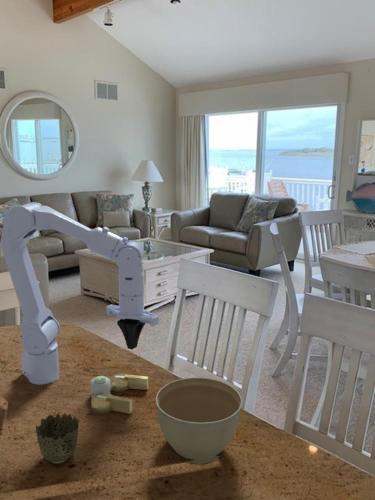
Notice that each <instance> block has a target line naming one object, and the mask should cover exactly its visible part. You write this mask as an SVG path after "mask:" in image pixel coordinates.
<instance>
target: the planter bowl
mask: <svg viewBox="0 0 375 500" xmlns="http://www.w3.org/2000/svg"><path fill="white" fill-rule="evenodd" d="M155 406H156V411H157V418H158V424H159V427H160V429H161V431H162V432H161V433H162V434H163V436H164V437H165V439H166V441H167V443H168V444H169V445H170V446H171V447H172V449H173V450H174V451H175V453H177V454H178V455H180V456H181V457H183V458H186V459H190V460H188V461H187V460H186V461H185V462H186V463H187V464H188V463H189V464H193V465H203V464H209V463H212V462H214V461H216V460H217V459H219V458H220V455H219V454H220V453H223V450H224V449H225V448H226V447H227V446H228V445H229V444H230V441H232V439H233V437H234V436H235V434H236V431H237V429H238V425H239V422H240V417H241V411H242V408H243V398H242V396H241V394H240V392H239V391H238V390H236V388H235V387H233V386H232V385H230V384H228V383H226V382H224V381H221V380H217V379H213V378H209V377H185V378H181V379H176V380H173V381H171V382H169V383H167V384H165V385H164V386H162V387H161V388H160V389H159V390H158V392H157V394H156V397H155Z"/></svg>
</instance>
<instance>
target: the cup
mask: <svg viewBox="0 0 375 500" xmlns="http://www.w3.org/2000/svg"><path fill="white" fill-rule="evenodd" d="M79 423H80V421H79V418H76V415H74V416H73V417H72V415H71V414H70V413H68V414H67V413H63V414H62V415H60V413H57V414H56V415H55V416H54V415H52V414H48V415H47V416H46V417H45V418H41V420H40V425H35V432H36V437H37V442H38V447H39V450H40V453H41V455H42V456H43V458H44V459H45V460H47V461H48V462H51V463H53V464H62V463H64V462H66V461H68V460H69V458H71V456H73V454H74V453H75V451H76V449H77V444H78V438H79V436H78V435H79Z"/></svg>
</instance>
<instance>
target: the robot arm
mask: <svg viewBox="0 0 375 500" xmlns="http://www.w3.org/2000/svg"><path fill="white" fill-rule="evenodd" d="M1 222H2V225H3V226H2V231H1V236H0V248H1V251H2V254H3V256H4V259H5V264H6V267H7V270H8V272H9V275H10V278H11V281H12V284H13V289H14V292H15V293H16V297H17V301H18V303H19V307H20V310H21V312H22V313H21V314H22V319H21V324H20V330H21V341H20V342H21V345H22V347H23V350H22V351H21V366H22V375H23V376H25V377H26V378H27V380H28V381H29V382H30V383H31V384H32V385H33V384H34V385H47V384H50V383H54V382H55V381H57V380H58V379H59V378H60V365H59V363H60V362H59V351H58V350H59V349H58V342H57V337H58V336H59V334H60V331H61V326H60V323H59V321H58V320H57V319H56V318H55V316H54V315H53V313H52V310H51V309H50V308H48V307H47V306H46V305H45V301H44V298H43V295H42V291H41V288H40V284H39V282H38V279H37V275H36V272H35V269H34V266H33V263H32V260H31V256H30V254H29V250H28V247H27V245H28V243H29V242H30V239H32V237H33V235H34V234H35V233H36V232H38V231H45V230H55V231H56V232H59V233H62V234H64V235H67V236H69V237H72V238H73V239H77V240H79V241H82V242H84V243H85V245H86V247H87V250H88V251H91V252H93V253H95V254H98V255H99V256H102V257H104V258H106V259H108V260H110V261H113V262H115V263H116V266H117V267H118V302H119V303H118V305H117V304H116V305H115V304H109V305H107V306H106V307H105V308H106V309H105V311H106V312H105V313H106V315H109V316H110V315H113V316H117V318H118V319H119V320H117V321H116V324H117V326H118V327H119V329H120V331H121V333H122V335H123V337H124V340H125V344H126V347H127V349H128V350H134V349H135V348H137V347H138V343H139V340H140V336H141V334H142V333H141V332H142V330H143V329H144V327H145V325H146V324H149V326H150V327H155V326H158V325H159V323H160V321H159V319H160V318H159V317H160V316H159V315H156V314H154V313H151V312H150V311H147V310H146V309H144V308H145V305H144V304H145V303H144V301H145V300H144V297H145V296H144V292H145V291H144V272H143V271H144V267H143V264H144V263H142V261H143V260H144V258H145V248H144V246H143V244H141V243H140V242H138V241H137V240H135V239H131V240H129V238H128V237H126V236H123V237H122V236H119V235H117V234H115V233H113V232H111V231H110V228H108V227H106V226H104V227H100V226H98V227H95V228H90V227H88V226H86V225H84V224H82V223H80V222H79V221H77V220H74V219H72V218H71V217H68V216H67V215H66V214H63V213H61V212H59V211H57V210H55V209H53V208H52V207H50V206H48V205H43V204H41V203H40V202H36V201H32V202H31V201H30V202H28V203H26V204H25V203H24V204H22V205H16V206H13V207H11V208H10V209H9V210H8V211H7V212H6V214H5V215H4V217H3V218H2V219H1Z"/></svg>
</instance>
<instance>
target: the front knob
mask: <svg viewBox="0 0 375 500" xmlns="http://www.w3.org/2000/svg"><path fill="white" fill-rule="evenodd" d="M90 402H91V411H92V412H93V413H95V414H98V415H104V414H109V413H110V412H112V411H114V412H119V413H124V414H128V415H130V414H131V413H133V398H128V397H123V396H118V395H113V394H112V393H111V394H109V393H99V394H96V395H94V396H93V397H92V398H91V399H90Z"/></svg>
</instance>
